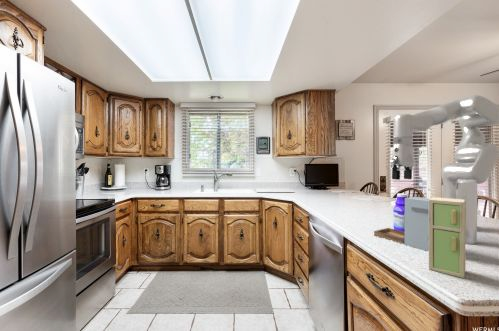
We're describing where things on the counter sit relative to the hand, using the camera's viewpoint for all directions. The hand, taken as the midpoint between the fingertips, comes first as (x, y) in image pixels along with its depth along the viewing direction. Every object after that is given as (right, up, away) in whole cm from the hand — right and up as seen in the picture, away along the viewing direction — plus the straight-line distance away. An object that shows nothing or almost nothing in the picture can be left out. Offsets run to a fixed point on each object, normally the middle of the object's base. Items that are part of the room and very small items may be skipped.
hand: (401, 179), depth 108 cm
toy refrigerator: (-12, -25, -39) cm, 48 cm away
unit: (-4, -24, -20) cm, 32 cm away
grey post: (+17, -25, -13) cm, 33 cm away
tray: (-9, -24, -8) cm, 27 cm away
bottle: (0, -24, 0) cm, 24 cm away
